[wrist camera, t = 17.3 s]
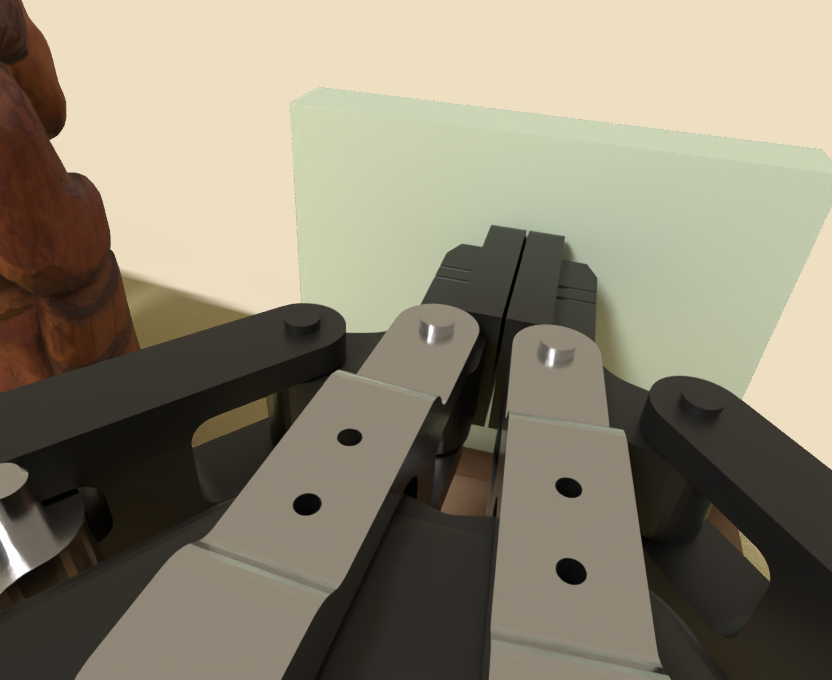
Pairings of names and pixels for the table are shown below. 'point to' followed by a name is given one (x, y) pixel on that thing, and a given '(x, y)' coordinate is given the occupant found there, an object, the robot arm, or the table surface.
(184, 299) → the table surface
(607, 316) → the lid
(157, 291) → the table surface
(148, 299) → the table surface
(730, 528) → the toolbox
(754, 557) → the table surface
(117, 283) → the wooden figurine
